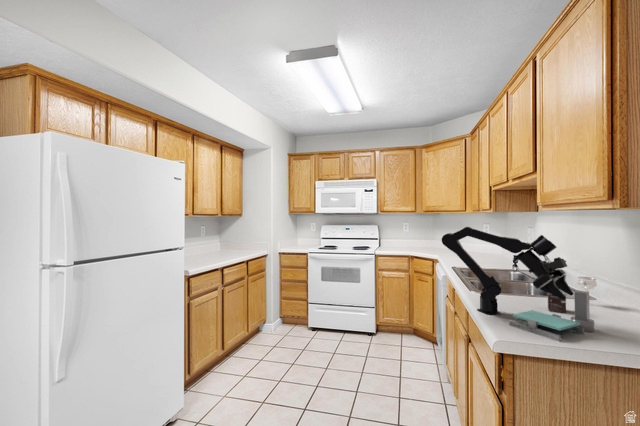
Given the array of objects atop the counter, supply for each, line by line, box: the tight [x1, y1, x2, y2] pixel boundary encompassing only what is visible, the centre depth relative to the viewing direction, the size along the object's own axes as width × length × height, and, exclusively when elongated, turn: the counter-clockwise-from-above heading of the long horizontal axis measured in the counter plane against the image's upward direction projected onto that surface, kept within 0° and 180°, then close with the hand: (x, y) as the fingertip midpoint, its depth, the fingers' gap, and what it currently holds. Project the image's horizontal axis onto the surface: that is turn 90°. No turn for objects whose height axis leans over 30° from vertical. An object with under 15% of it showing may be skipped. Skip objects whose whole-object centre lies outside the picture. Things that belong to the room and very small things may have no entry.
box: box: [547, 292, 567, 314], centre depth 135 cm, size 6×6×7 cm
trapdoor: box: [512, 309, 580, 331], centre depth 113 cm, size 16×12×2 cm
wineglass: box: [577, 276, 598, 307], centre depth 144 cm, size 7×7×12 cm
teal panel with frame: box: [508, 313, 585, 342], centre depth 113 cm, size 17×15×4 cm
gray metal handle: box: [570, 289, 595, 333], centre depth 113 cm, size 7×7×14 cm
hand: (568, 296), depth 116 cm, fingers open, 9 cm apart
